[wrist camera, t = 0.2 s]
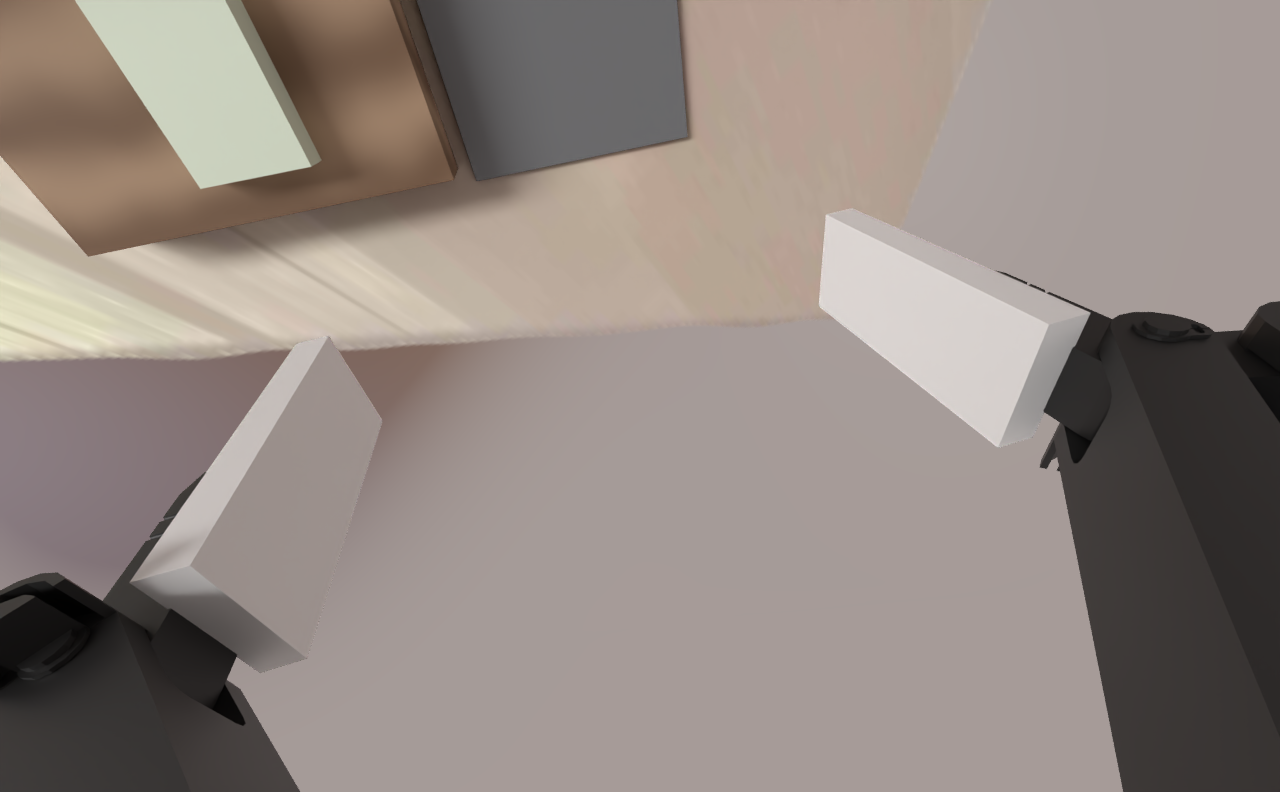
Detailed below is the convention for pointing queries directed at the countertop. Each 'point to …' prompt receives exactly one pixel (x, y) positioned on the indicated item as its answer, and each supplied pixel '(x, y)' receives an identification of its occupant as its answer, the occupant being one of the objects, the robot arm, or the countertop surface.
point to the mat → (557, 77)
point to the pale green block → (206, 85)
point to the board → (148, 164)
